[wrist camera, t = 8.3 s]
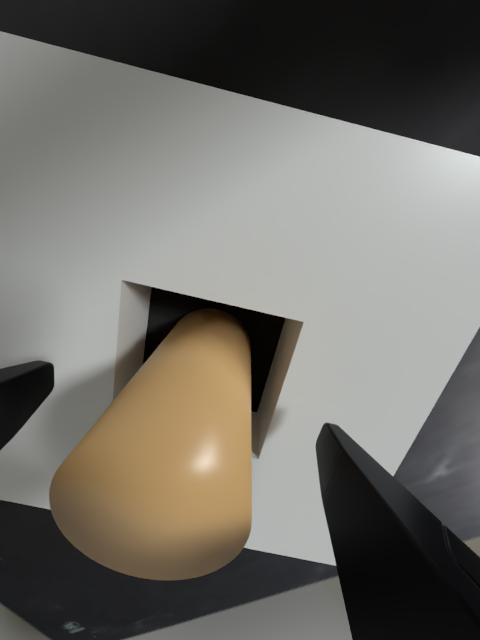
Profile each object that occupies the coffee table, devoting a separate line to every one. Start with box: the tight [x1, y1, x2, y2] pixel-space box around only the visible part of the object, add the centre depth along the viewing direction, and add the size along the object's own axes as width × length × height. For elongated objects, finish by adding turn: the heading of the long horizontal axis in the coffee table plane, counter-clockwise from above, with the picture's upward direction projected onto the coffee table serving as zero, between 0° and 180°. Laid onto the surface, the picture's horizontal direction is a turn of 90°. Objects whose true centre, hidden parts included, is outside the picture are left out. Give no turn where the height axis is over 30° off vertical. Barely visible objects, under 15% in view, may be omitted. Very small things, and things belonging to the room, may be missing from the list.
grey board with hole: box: [0, 31, 480, 566], centre depth 12 cm, size 18×25×3 cm
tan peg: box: [49, 308, 252, 580], centre depth 9 cm, size 4×4×8 cm
